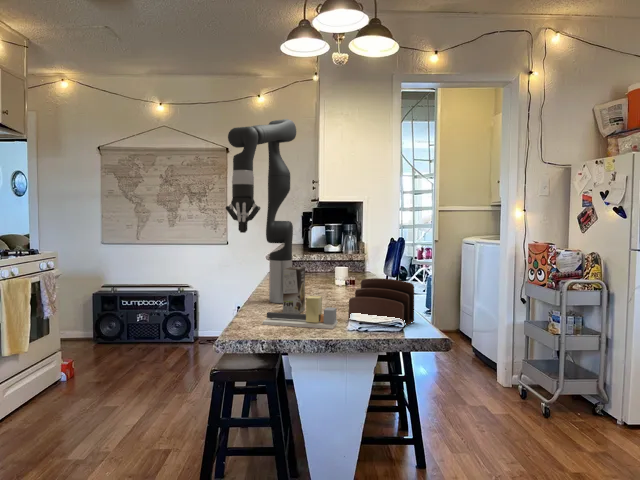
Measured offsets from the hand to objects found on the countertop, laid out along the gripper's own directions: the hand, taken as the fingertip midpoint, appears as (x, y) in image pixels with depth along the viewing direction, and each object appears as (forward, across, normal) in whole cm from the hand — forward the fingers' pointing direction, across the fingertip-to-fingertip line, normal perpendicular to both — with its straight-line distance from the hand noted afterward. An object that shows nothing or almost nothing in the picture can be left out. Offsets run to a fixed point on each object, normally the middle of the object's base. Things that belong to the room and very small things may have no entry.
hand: (242, 232), depth 162 cm
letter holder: (+29, -50, 0) cm, 58 cm away
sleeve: (+28, -29, +11) cm, 42 cm away
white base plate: (+29, -24, +11) cm, 40 cm away
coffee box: (+29, -17, -8) cm, 35 cm away
